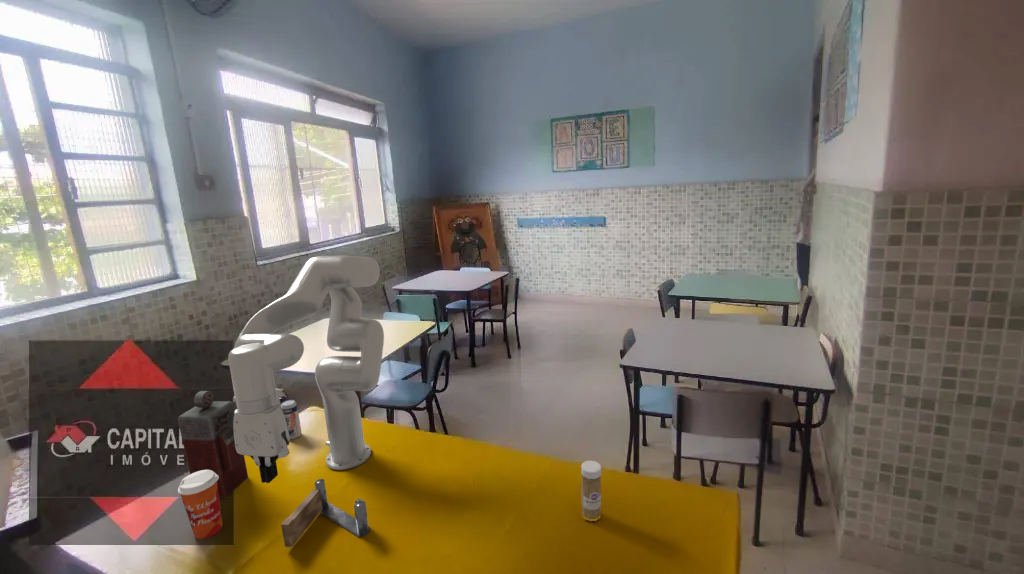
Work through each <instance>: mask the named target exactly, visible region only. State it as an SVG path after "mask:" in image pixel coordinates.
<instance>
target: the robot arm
mask: <svg viewBox="0 0 1024 574" xmlns="http://www.w3.org/2000/svg"><path fill="white" fill-rule="evenodd" d="M380 271H381V270H380V265H379V263H378V261H377V260H376V259H375V258H373V257H371V256H356V255H343V254H342V255H318V256H313V257H310V258H309V259H308V260H307V261H305V264H303V266H302V268H301V269H300V271H299V272H298V274H297V276H296V277H295V279H294V281H293V283H292V284H291V285H290V287H289V289H288V290H287V292H286V293H285V294H284V295H282V296H281V297H279V298H278V299H276V300H274V301H273V302H271V303H269V304H267V305H266V306H265V307H264V308H262V309H260V310H258V312H257V313H255V314H254V315H253V316H252V317H251V318H250V319H249V320H248V321H247V323H246V324H245V326H244V327H243V329H242V330H241V332H240V333H239V335H238V338H237V339H236V341H235V343H234V347H233V349H231V350H230V351H229V353H228V357H227V358H228V364H229V370H230V375H231V377H230V378H231V381H232V389H233V393H234V396H233V397H232V402H233V403H235V405H236V408H235V412H234V421H233V428H234V440H235V447H236V451H237V453H239V454H241V455H244V456H246V457H250V458H251V459H252V460H253V462H254V464H255V466H256V467H258V470H259V475H260V481H261V483H262V484H264V483H266V484H270V483H271V482H272V481H273V480H274V479H276V478H277V477H278V475H279V474H278V466H277V461H278V459H282V458H283V459H284V458H286V457H287V456H288V455H289V454H290V450H289V447H288V446H289V445H290V439H289V432H288V427H287V423H286V420H285V416H284V413H283V411H282V408H281V404H279V402H278V396H277V389H276V388H277V387H276V383H275V375H274V374H275V372H278V371H281V370H284V369H288V368H291V367H292V366H294V365H296V364H297V363H298V362H299V361H300V360H301V359H302V357H303V354H304V351H305V347H304V343H303V341H302V339H301V338H300V337H299V336H296V335H294V334H290V333H276V332H277V331H278V330H280V329H282V328H284V327H287V326H289V325H292V324H295V323H297V322H301V321H303V320H305V319H308V318H310V317H313V316H314V315H316V314H317V313H318V312H319V311H320V309H321V307H322V305H323V303H324V302H325V299H326V298H327V295H329V297H330V301H331V304H330V305H331V306H330V313H329V314H330V315H329V320H328V327H327V334H326V344H327V346H328V348H329V349H330V350H331V351H335V352H347V353H360V356H351V355H350V356H349V355H335V356H334V355H333V356H332V355H331V356H328V357H324V358H322V359H321V360H320V361H319V362H318V363H317V365H316V367H315V370H314V378H315V382H316V385H317V387H318V390H319V393H320V395H321V399H322V405H323V412H324V417H325V424H326V430H327V432H326V433H327V438H328V440H327V441H326V442H325V446H327V447H329V448H328V449H329V452H328V453H327V455H326V456H325V463H326V466H327V467H328V468H330V469H331V470H335V471H344V470H350V469H353V468H356V467H358V466H360V465H362V464H363V463H366V462H367V460H368V459H369V458H370V456H371V454H372V450H371V446H370V445H369V444H367V443H365V438H364V430H363V422H362V415H361V407H360V399H359V397H358V395H357V393H356V392H369V391H372V390H373V389H375V388H376V387H377V386H378V383H379V380H380V375H381V368H382V359H383V351H384V343H385V333H384V329H383V328H384V327H383V325H382V324H381V322H380V321H378V320H377V319H372V318H362V311H363V310H362V309H363V308H362V307H363V304H362V300H361V297H360V296H359V295H358V293H357V291H355V289H354V288H364V287H365V288H366V287H367V288H368V287H372V286H374V285H375V284H376V283H377V282H378V281H379V278H380V273H381V272H380Z"/></svg>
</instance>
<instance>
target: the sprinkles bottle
mask: <svg viewBox="0 0 1024 574" xmlns="http://www.w3.org/2000/svg"><path fill="white" fill-rule="evenodd" d="M580 470H581V471H580V472H581V510H582V511H581V515H582V514H583V515H584V516H585V517H586V518H588V519H596V518H598V517H599V516H600V513H601V506H602V501H601V500H602V492H601V491H602V490H601V489H602V486H601V485H602V483H601V481H602V480H601V478H602V477H601V476H602V465H601V464H600V463H599V462H598V461H595V460H585V461H584V462H582V463H581V469H580Z"/></svg>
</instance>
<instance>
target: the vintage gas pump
mask: <svg viewBox="0 0 1024 574" xmlns="http://www.w3.org/2000/svg"><path fill="white" fill-rule="evenodd" d="M214 399H215V395H214V393H213V392H212V391H211V390H200V391H198V392H196V394H195V395H194V397H193V404H194V406H193V407H192V408H191V409H189V410H187V411H184V412H183V413H182V414H181V415H179V416H178V417H177V423H178V426H179V427H178V428H179V431H180V432H179V433H180V436H181V439H182V445H183V451H184V453H185V458H186V462H187V466H188V471H189V475H190V474H192V473H195V472H197V471H201V470H212V471H213V472H215V473H216V474H217V475H218V476H219V478H218V480H217V485H218V493H219V499H226V498H228V497H229V496H230V495H231V494H233V492H234V491H235V490H236V489H237V488H238V487H240V485H242V484H243V482H245V480H247V479H248V478H249V475H248V470H247V469H248V468H247V464H246V460H245V455H241V454H239V453H237V451H236V447H235V440H234V428H233V421H234V412H235V410H236V407H235V404H234V403H235V402H233V401H229V400H227V401H226V400H221V401H218V400H214Z"/></svg>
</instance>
